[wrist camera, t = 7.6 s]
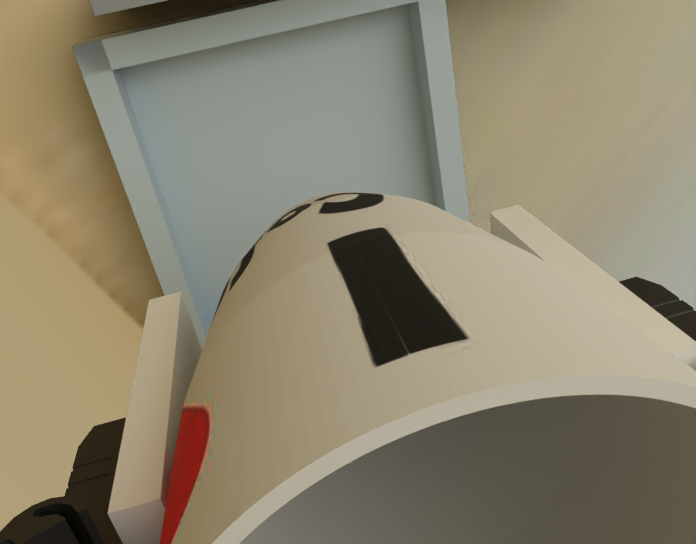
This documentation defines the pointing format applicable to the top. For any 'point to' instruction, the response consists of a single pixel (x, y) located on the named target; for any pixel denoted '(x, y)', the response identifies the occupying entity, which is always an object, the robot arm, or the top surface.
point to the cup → (425, 396)
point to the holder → (117, 5)
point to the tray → (272, 123)
